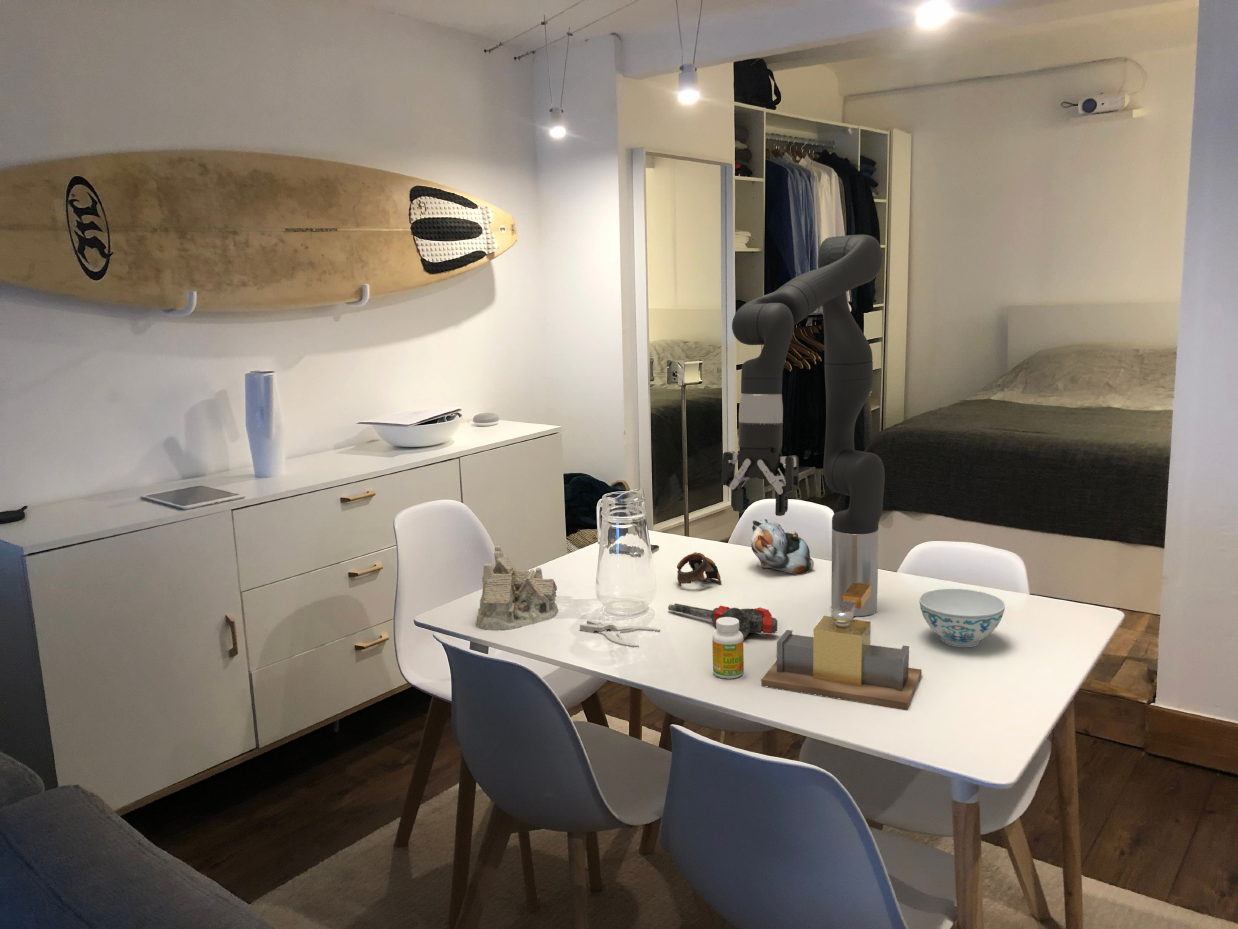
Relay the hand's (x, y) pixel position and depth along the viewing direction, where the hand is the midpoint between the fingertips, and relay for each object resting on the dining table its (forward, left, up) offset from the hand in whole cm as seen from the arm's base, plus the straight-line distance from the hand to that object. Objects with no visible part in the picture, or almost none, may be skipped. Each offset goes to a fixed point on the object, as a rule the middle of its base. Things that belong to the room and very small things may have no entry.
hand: (758, 513), depth 165 cm
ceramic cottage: (-4, -54, -28) cm, 61 cm away
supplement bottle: (+7, -4, -28) cm, 29 cm away
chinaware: (-23, +31, -28) cm, 48 cm away
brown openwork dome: (-38, -27, -28) cm, 55 cm away
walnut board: (+3, +15, -28) cm, 32 cm away
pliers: (-3, -31, -28) cm, 42 cm away
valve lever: (-4, +15, -17) cm, 23 cm away
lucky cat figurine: (-55, -12, -28) cm, 63 cm away
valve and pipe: (+3, +15, -28) cm, 32 cm away
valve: (-18, -12, -28) cm, 35 cm away
